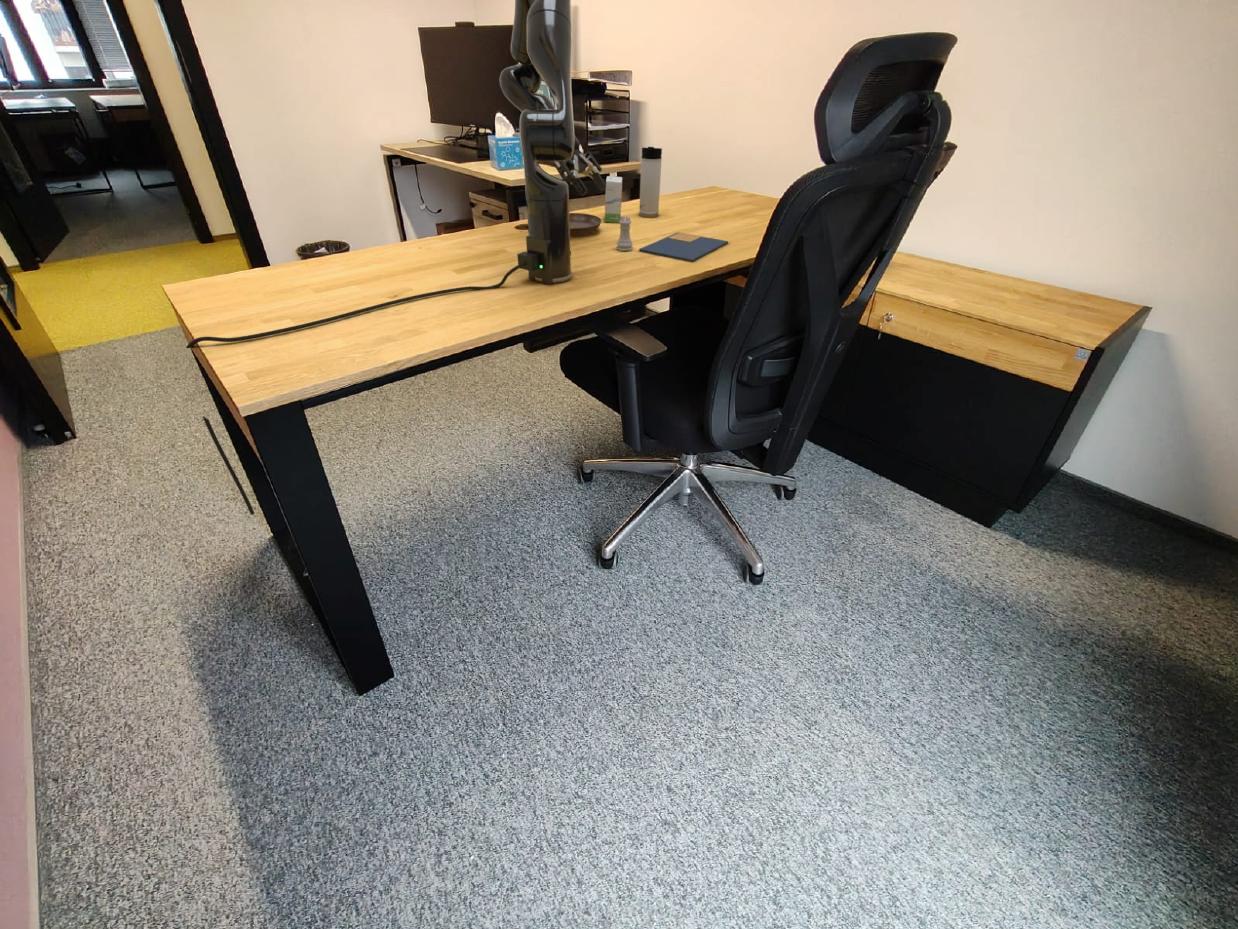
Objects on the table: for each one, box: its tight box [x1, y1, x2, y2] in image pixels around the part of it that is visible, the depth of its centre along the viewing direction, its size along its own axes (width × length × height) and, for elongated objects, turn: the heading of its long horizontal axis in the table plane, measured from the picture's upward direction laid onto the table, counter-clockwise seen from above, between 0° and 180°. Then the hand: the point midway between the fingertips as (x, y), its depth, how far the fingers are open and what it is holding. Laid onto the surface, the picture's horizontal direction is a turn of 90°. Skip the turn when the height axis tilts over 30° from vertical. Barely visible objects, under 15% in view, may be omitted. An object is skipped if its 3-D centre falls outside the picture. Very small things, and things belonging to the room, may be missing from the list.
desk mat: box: [638, 231, 729, 263], centre depth 153 cm, size 22×16×1 cm
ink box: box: [604, 175, 623, 224], centre depth 174 cm, size 9×5×12 cm, turn 179°
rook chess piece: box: [615, 216, 634, 252], centre depth 148 cm, size 4×4×8 cm
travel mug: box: [638, 146, 663, 218], centre depth 177 cm, size 6×7×20 cm
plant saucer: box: [569, 212, 603, 237], centre depth 164 cm, size 18×18×3 cm
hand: (594, 191), depth 147 cm, fingers open, 8 cm apart
